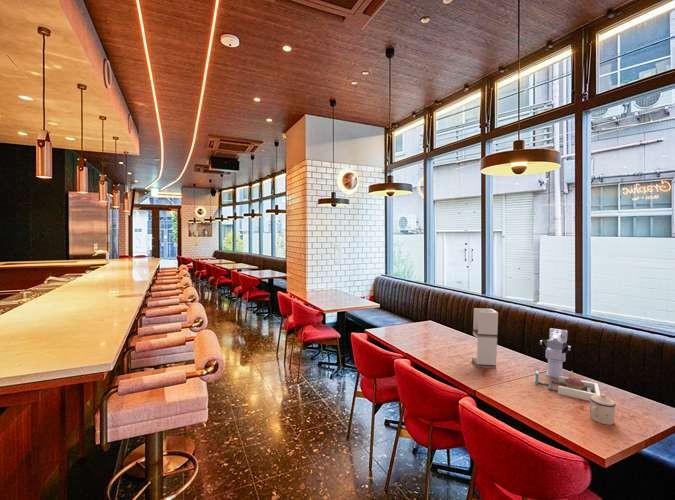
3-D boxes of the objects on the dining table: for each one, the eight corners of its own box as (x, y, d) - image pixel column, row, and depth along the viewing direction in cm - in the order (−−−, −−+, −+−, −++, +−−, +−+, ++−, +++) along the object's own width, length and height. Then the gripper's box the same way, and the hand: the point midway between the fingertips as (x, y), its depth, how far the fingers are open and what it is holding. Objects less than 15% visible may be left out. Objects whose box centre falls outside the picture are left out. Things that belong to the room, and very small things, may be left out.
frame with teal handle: (536, 378, 196) (536, 368, 195) (589, 390, 182) (590, 379, 181) (534, 386, 185) (535, 375, 184) (591, 399, 171) (592, 388, 171)
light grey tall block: (490, 362, 221) (492, 308, 220) (496, 368, 211) (498, 312, 209) (472, 361, 222) (473, 308, 221) (477, 367, 212) (479, 311, 210)
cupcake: (575, 396, 175) (576, 373, 175) (560, 388, 183) (561, 367, 183) (587, 394, 177) (588, 371, 177) (572, 387, 186) (573, 365, 185)
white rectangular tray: (558, 382, 191) (558, 375, 191) (597, 390, 182) (597, 383, 181) (557, 394, 177) (558, 386, 177) (600, 403, 168) (600, 395, 167)
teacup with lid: (597, 412, 159) (598, 388, 158) (619, 423, 150) (620, 397, 150) (580, 417, 154) (581, 392, 153) (602, 428, 146) (604, 402, 145)
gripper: (541, 332, 199) (539, 339, 188) (571, 338, 191) (570, 346, 180) (540, 344, 200) (538, 352, 189) (570, 350, 191) (569, 358, 180)
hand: (554, 349), depth 184 cm, fingers open, 7 cm apart
